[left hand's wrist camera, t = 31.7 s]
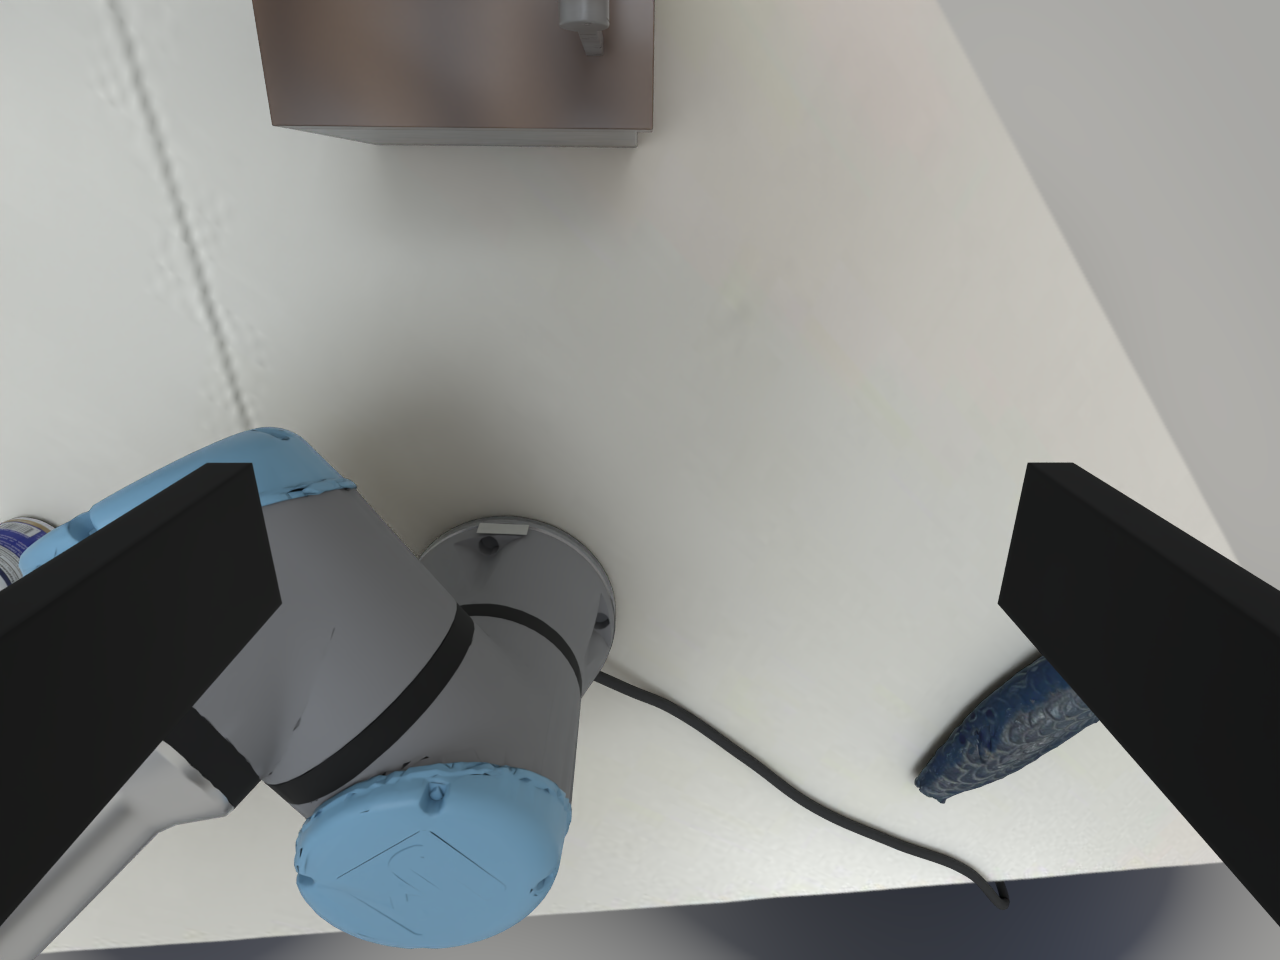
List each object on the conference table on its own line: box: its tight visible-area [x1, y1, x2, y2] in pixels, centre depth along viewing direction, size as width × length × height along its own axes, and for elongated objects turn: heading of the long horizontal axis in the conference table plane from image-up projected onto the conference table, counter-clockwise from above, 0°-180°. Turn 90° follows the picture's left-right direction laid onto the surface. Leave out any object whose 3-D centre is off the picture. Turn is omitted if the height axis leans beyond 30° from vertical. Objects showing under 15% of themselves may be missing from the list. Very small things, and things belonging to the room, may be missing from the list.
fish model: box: [915, 656, 1099, 804], centre depth 53 cm, size 7×21×5 cm, turn 143°
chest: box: [289, 128, 637, 147], centre depth 34 cm, size 15×12×11 cm
